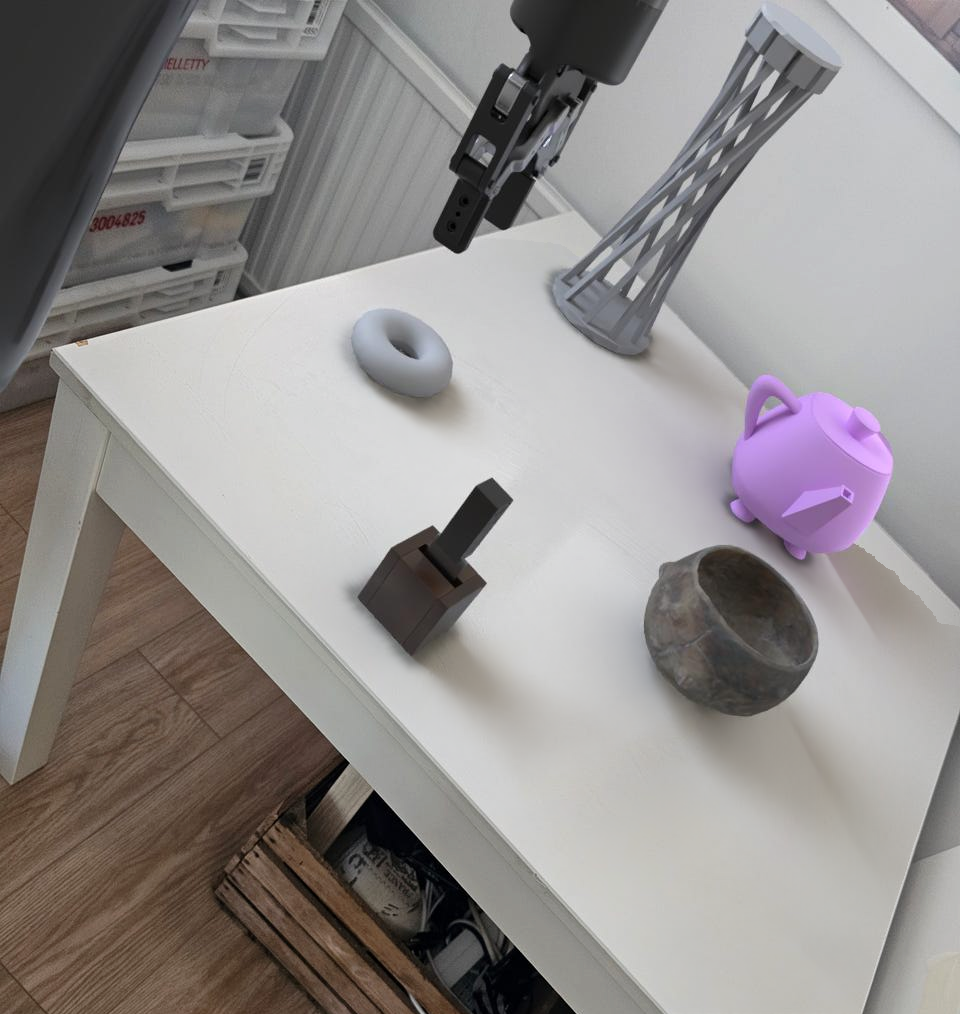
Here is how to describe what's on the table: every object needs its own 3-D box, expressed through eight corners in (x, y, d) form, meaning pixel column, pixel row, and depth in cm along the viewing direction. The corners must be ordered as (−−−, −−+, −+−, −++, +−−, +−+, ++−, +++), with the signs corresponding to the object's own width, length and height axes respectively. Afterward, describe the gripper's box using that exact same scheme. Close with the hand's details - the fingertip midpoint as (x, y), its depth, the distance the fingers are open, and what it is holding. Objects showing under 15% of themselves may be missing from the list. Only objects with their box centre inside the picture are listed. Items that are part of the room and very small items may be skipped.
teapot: (673, 514, 106) (773, 409, 96) (697, 419, 120) (785, 320, 110) (824, 617, 109) (936, 526, 99) (829, 513, 123) (927, 424, 113)
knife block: (356, 597, 77) (391, 547, 73) (398, 573, 81) (432, 524, 77) (410, 655, 76) (448, 608, 72) (449, 629, 80) (487, 583, 76)
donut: (331, 321, 96) (365, 399, 91) (345, 292, 93) (381, 369, 89) (421, 337, 102) (457, 410, 97) (437, 309, 99) (475, 383, 95)
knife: (382, 604, 78) (471, 481, 69) (399, 594, 80) (488, 472, 70) (409, 633, 78) (502, 513, 68) (425, 622, 79) (518, 504, 70)
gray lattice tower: (661, 336, 128) (870, 74, 104) (621, 368, 118) (842, 86, 95) (579, 263, 128) (769, -15, 105) (533, 289, 119) (731, -12, 95)
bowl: (612, 581, 94) (680, 510, 87) (746, 639, 99) (819, 576, 93) (621, 704, 85) (697, 636, 78) (767, 760, 90) (850, 700, 84)
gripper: (584, -65, 62) (462, 186, 71) (510, -86, 50) (375, 217, 60) (688, 6, 62) (551, 248, 71) (637, 2, 50) (482, 291, 60)
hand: (471, 233), depth 66 cm, fingers open, 8 cm apart
